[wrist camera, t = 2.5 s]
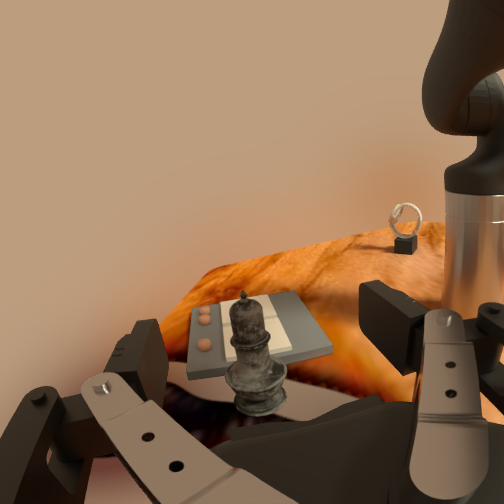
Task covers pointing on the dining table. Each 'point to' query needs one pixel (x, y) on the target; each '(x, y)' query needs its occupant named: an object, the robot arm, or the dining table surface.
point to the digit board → (276, 323)
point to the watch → (404, 242)
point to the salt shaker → (254, 362)
